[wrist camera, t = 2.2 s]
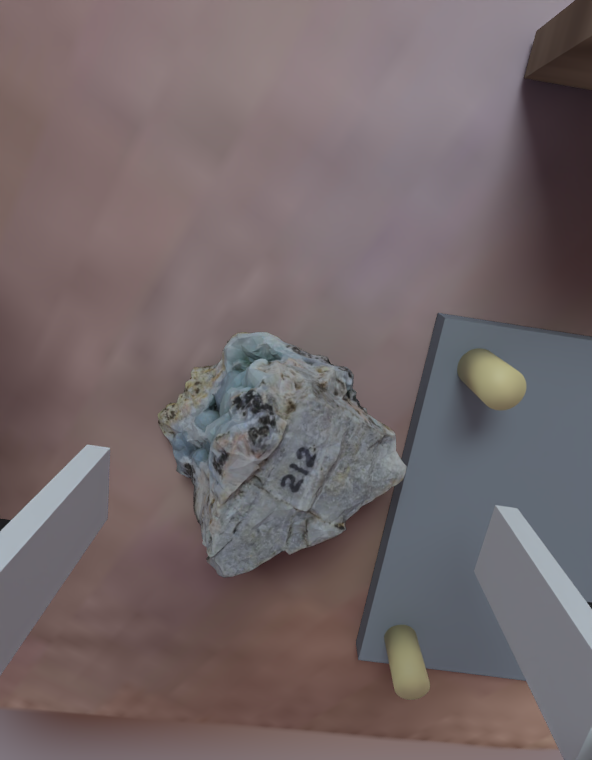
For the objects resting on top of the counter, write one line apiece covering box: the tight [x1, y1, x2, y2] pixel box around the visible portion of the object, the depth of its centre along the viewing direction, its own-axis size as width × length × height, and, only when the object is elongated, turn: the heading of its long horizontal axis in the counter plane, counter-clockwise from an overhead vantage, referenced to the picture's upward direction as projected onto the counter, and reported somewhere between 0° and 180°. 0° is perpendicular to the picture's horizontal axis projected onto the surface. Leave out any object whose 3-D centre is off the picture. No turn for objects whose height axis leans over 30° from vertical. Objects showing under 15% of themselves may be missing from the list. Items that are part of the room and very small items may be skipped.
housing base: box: [356, 313, 592, 700], centre depth 24 cm, size 18×20×4 cm
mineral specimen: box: [158, 332, 407, 578], centre depth 22 cm, size 10×8×10 cm
